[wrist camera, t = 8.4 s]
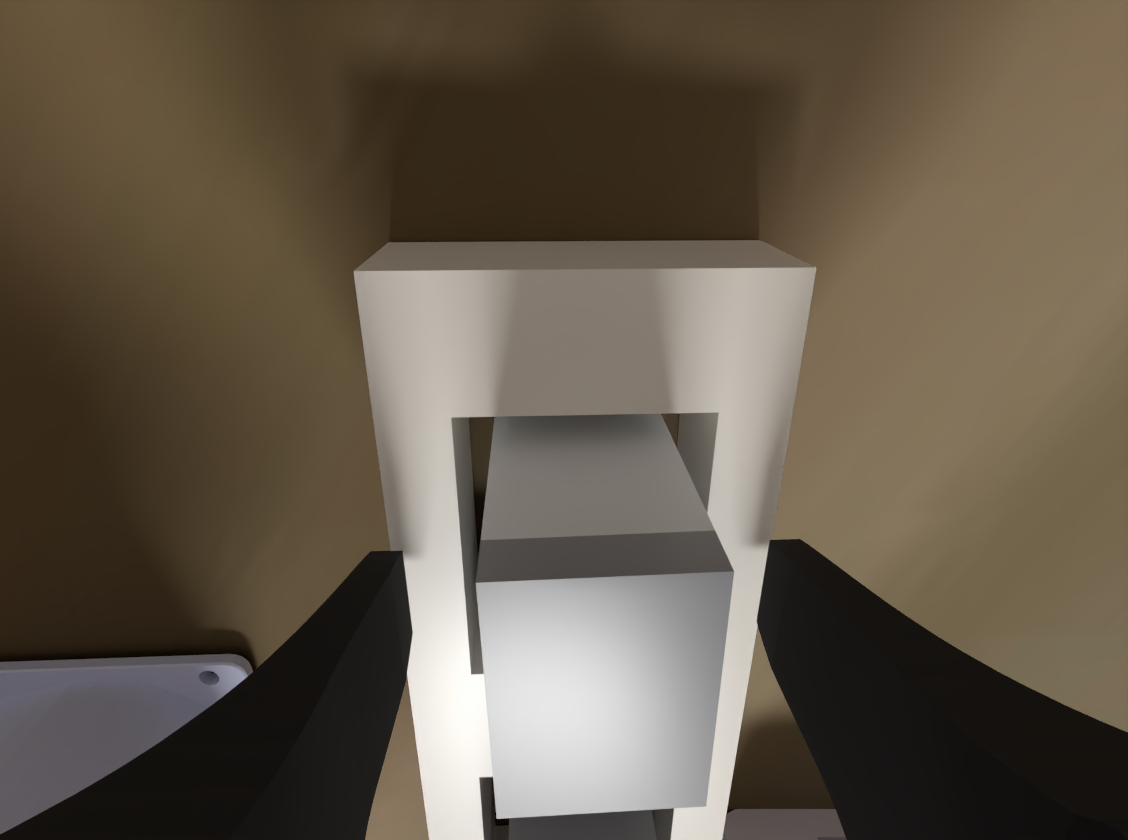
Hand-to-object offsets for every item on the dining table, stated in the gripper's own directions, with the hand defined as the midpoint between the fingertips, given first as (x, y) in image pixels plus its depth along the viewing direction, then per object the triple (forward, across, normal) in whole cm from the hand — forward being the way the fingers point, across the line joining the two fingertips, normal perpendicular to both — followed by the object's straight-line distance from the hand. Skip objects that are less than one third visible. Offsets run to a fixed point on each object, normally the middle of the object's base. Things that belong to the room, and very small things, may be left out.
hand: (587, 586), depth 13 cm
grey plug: (+4, 0, 0) cm, 4 cm away
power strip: (+4, 0, +5) cm, 6 cm away
